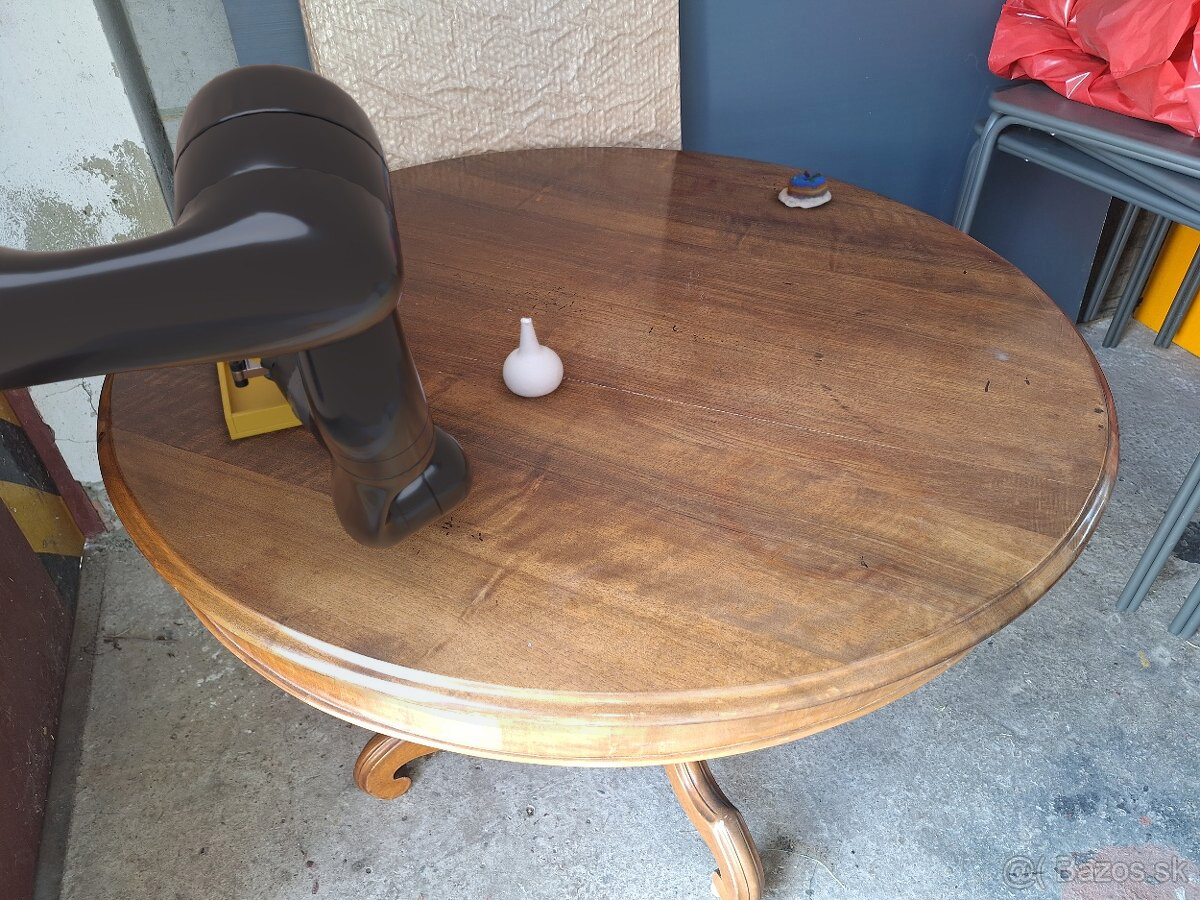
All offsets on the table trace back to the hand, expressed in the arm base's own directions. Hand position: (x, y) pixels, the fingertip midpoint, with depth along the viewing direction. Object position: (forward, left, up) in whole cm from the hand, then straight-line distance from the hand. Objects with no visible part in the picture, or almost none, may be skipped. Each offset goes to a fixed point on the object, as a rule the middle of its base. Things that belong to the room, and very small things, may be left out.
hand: (275, 313), depth 91 cm
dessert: (+78, +22, -8) cm, 82 cm away
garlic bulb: (+23, -11, -8) cm, 27 cm away
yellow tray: (0, -2, -8) cm, 8 cm away
